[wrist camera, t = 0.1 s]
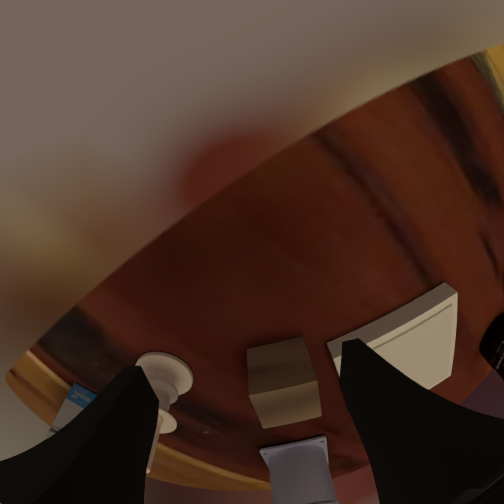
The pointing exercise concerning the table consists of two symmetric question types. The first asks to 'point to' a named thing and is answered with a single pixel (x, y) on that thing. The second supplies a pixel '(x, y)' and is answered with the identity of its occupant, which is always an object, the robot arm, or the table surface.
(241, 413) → the table surface
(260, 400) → the block
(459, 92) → the table surface
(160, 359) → the candle
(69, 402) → the ink box
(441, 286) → the plate
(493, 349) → the supplement bottle
